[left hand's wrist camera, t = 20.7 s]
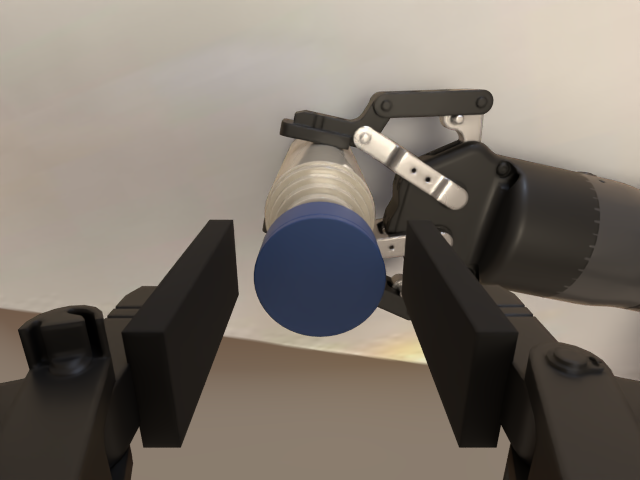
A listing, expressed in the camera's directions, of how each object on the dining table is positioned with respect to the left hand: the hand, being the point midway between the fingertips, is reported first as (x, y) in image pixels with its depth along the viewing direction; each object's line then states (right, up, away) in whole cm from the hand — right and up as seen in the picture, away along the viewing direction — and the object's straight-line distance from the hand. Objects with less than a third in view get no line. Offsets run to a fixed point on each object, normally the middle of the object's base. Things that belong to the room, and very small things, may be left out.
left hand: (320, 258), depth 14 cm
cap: (0, 0, -1) cm, 1 cm away
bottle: (0, +6, +16) cm, 17 cm away
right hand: (-3, +4, +10) cm, 11 cm away
